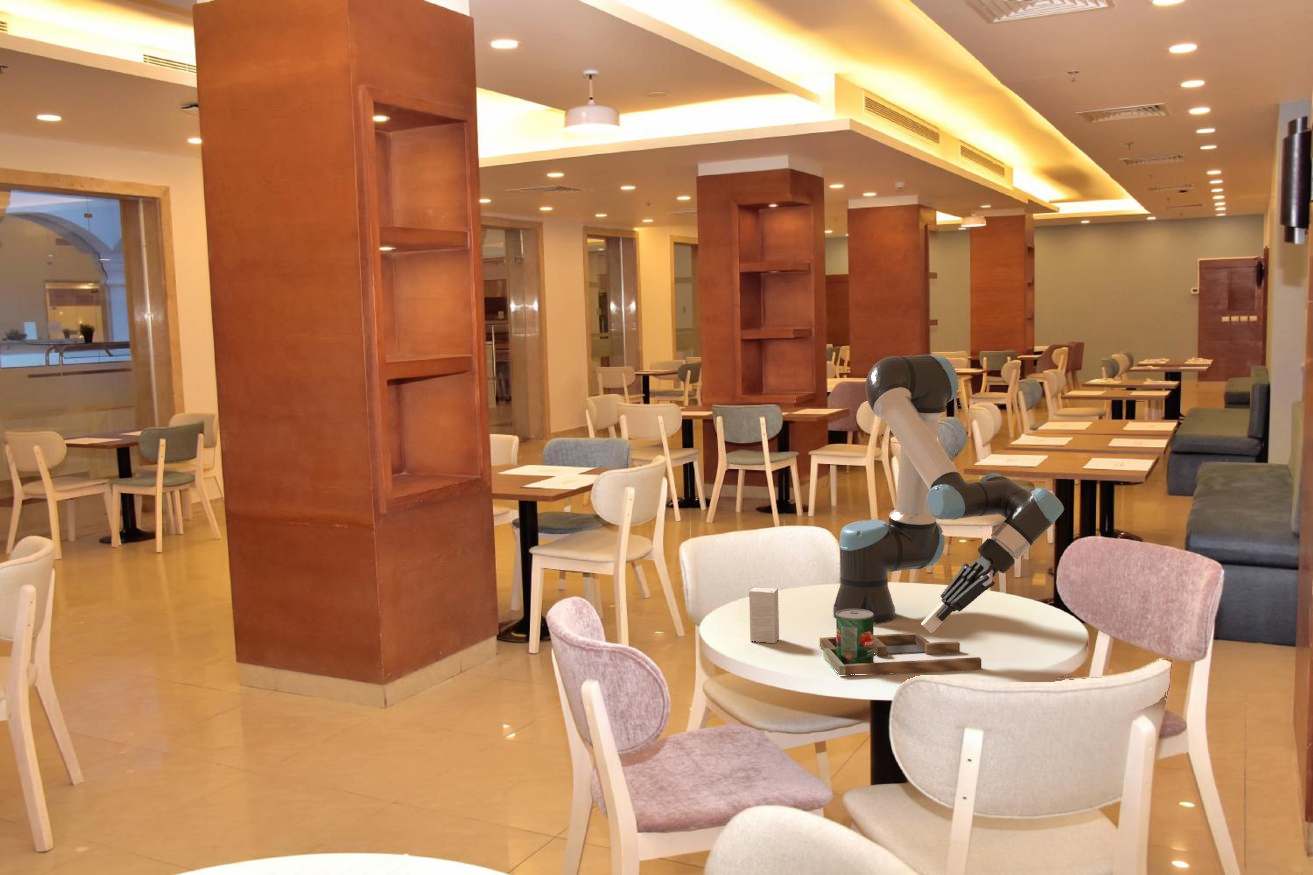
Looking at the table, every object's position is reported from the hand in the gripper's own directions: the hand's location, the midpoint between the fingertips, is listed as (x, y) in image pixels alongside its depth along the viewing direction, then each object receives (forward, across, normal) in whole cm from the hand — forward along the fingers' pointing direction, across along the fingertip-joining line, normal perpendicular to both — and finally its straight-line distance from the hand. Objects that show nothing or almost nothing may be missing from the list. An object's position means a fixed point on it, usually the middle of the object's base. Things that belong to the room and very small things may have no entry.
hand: (926, 628), depth 238 cm
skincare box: (+27, +22, +16) cm, 39 cm away
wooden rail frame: (+9, +3, -1) cm, 10 cm away
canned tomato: (+16, +1, +6) cm, 17 cm away
